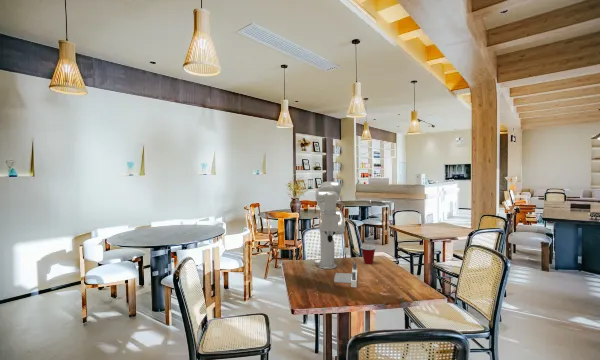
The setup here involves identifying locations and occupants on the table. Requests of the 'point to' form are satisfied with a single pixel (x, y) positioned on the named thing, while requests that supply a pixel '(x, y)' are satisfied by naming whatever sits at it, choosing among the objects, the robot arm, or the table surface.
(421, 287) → the table surface
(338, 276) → the metal plate
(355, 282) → the bar
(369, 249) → the plastic cup
